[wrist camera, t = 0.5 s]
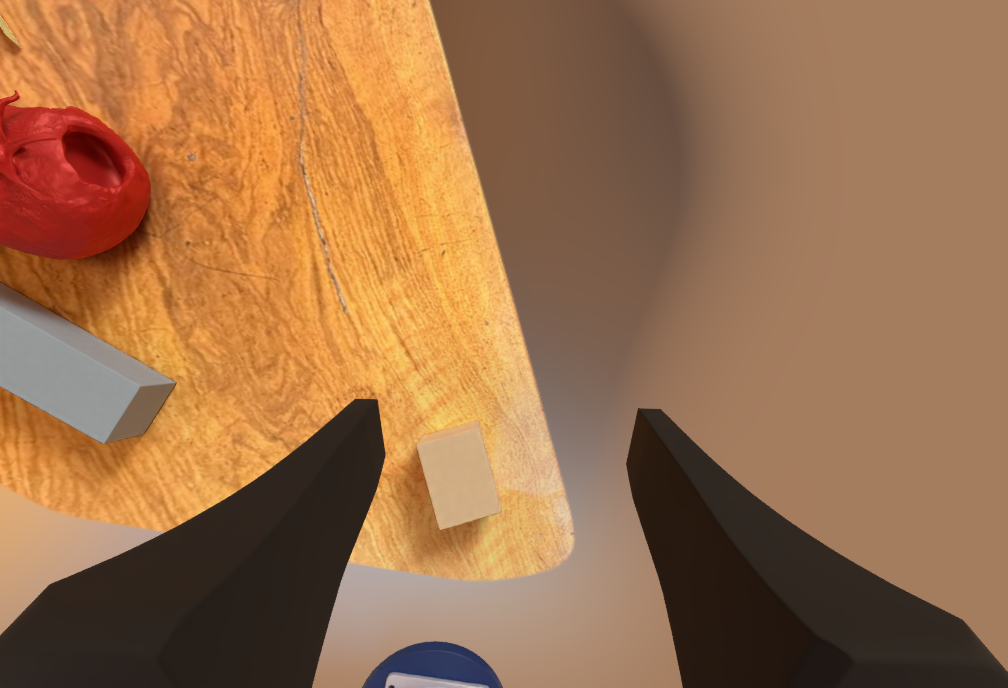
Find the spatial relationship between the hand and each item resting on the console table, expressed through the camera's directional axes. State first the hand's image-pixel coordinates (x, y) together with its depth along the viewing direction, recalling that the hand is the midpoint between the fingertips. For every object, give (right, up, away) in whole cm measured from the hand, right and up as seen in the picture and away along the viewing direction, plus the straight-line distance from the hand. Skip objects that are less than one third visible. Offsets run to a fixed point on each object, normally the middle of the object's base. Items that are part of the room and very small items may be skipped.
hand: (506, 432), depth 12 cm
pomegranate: (-30, +13, +20) cm, 38 cm away
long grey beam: (-34, +3, +19) cm, 39 cm away
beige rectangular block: (-3, -7, +21) cm, 22 cm away
